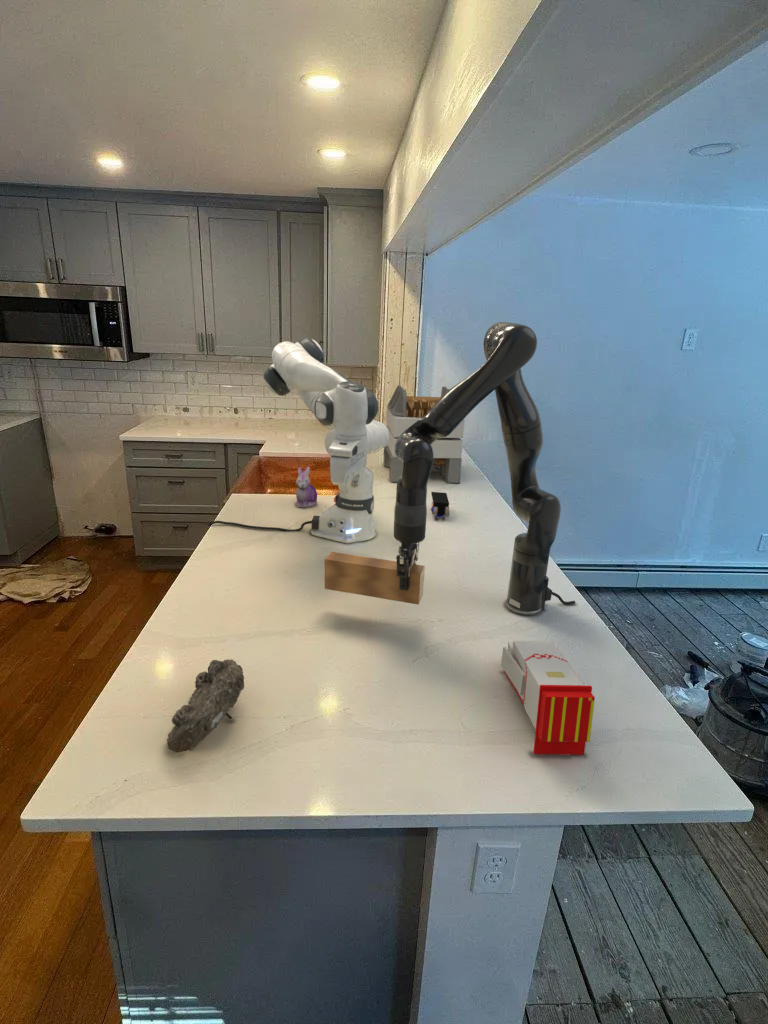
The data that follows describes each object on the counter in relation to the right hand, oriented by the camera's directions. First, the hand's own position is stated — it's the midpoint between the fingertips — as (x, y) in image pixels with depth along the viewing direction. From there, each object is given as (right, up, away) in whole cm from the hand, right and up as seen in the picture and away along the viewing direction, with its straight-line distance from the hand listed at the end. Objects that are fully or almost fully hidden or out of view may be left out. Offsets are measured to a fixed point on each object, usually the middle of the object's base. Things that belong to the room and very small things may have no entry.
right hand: (406, 584), depth 138 cm
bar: (-8, -2, +3) cm, 9 cm away
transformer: (+12, +36, +137) cm, 142 cm away
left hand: (-15, +23, +21) cm, 35 cm away
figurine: (-36, +21, +87) cm, 96 cm away
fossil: (-38, -22, -30) cm, 53 cm away
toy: (+26, -22, -23) cm, 41 cm away
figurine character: (+16, +16, +81) cm, 84 cm away
